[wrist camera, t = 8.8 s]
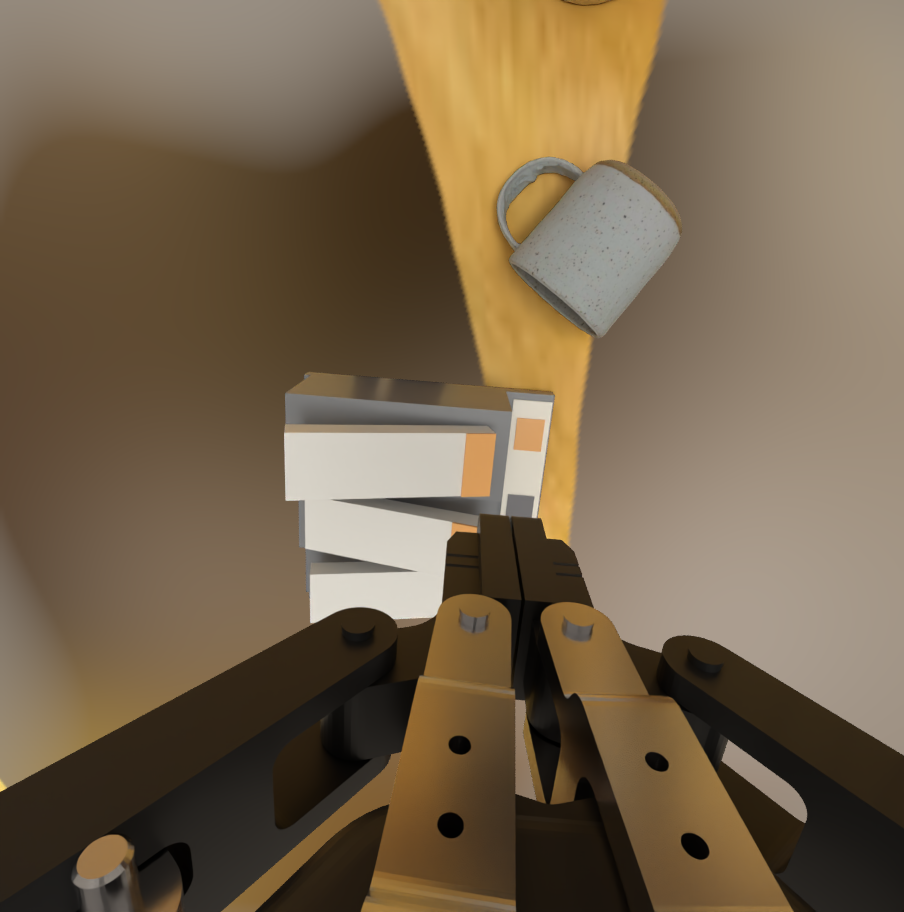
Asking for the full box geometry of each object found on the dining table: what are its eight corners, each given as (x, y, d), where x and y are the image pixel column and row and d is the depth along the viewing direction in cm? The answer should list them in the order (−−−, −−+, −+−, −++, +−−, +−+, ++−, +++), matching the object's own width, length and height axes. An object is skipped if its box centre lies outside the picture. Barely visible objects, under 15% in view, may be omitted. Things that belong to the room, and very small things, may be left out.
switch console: (308, 371, 41) (270, 396, 33) (552, 391, 41) (572, 421, 33) (310, 583, 46) (277, 648, 39) (523, 601, 46) (534, 669, 39)
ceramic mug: (667, 236, 37) (715, 227, 30) (584, 334, 39) (609, 348, 32) (547, 128, 35) (566, 90, 28) (468, 236, 37) (466, 227, 30)
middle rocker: (316, 486, 38) (303, 495, 37) (485, 516, 36) (480, 528, 34) (316, 538, 39) (304, 549, 38) (479, 570, 37) (474, 584, 35)
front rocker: (285, 424, 31) (284, 433, 30) (487, 425, 34) (496, 434, 33) (286, 489, 32) (285, 501, 31) (481, 485, 35) (489, 496, 34)
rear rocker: (311, 562, 40) (309, 575, 38) (471, 559, 42) (476, 571, 41) (311, 609, 41) (310, 624, 40) (467, 603, 44) (472, 616, 42)
